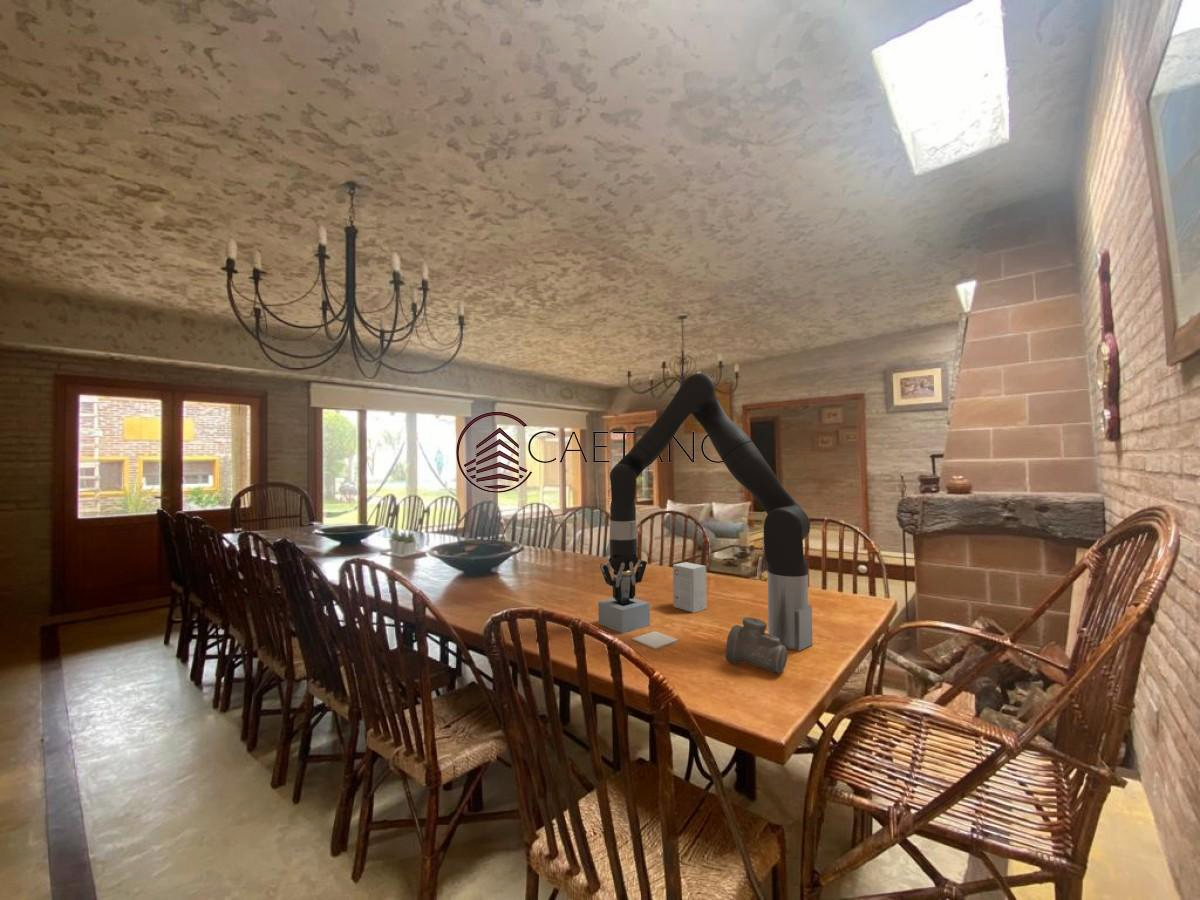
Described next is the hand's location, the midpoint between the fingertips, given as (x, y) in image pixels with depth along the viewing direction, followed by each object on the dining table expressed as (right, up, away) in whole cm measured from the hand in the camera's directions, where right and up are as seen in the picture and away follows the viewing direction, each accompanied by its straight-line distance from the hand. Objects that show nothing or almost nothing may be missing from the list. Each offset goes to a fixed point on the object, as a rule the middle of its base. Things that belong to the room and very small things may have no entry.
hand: (624, 599), depth 133 cm
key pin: (0, -3, +1) cm, 3 cm away
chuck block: (0, -7, 0) cm, 7 cm away
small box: (+21, -7, +14) cm, 26 cm away
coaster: (+7, -7, -12) cm, 16 cm away
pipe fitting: (+28, -7, -28) cm, 40 cm away
